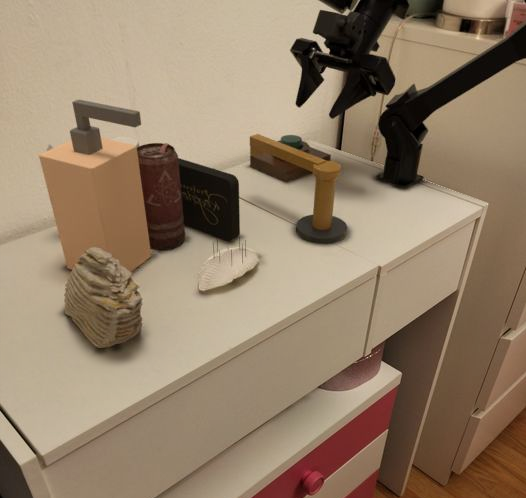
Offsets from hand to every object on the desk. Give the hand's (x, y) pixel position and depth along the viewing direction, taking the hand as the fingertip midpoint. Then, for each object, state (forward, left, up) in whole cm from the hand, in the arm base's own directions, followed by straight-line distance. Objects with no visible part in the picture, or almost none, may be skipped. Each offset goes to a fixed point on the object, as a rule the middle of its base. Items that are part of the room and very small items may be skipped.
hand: (313, 111), depth 90 cm
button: (-5, -10, -10) cm, 15 cm away
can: (+30, -2, -14) cm, 33 cm away
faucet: (+10, +12, -14) cm, 20 cm away
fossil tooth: (+47, +11, -14) cm, 51 cm away
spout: (+10, +5, -6) cm, 12 cm away
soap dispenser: (+39, 0, -14) cm, 41 cm away
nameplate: (+24, -5, -14) cm, 28 cm away
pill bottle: (+28, -14, -14) cm, 34 cm away
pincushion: (+29, +12, -14) cm, 34 cm away
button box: (-6, -10, -14) cm, 18 cm away
